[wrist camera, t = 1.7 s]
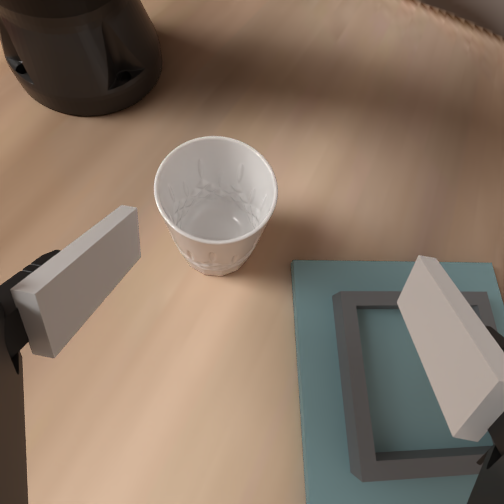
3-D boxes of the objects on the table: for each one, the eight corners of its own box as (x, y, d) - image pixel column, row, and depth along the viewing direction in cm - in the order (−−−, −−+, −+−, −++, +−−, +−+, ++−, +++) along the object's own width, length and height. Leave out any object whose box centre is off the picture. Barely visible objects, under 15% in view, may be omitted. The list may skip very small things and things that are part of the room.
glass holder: (290, 263, 29) (298, 252, 27) (483, 265, 32) (509, 256, 29) (307, 523, 23) (320, 546, 20) (548, 503, 25) (590, 521, 22)
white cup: (190, 194, 31) (179, 121, 21) (267, 218, 31) (290, 155, 21) (160, 268, 28) (133, 221, 19) (244, 293, 28) (260, 260, 19)
